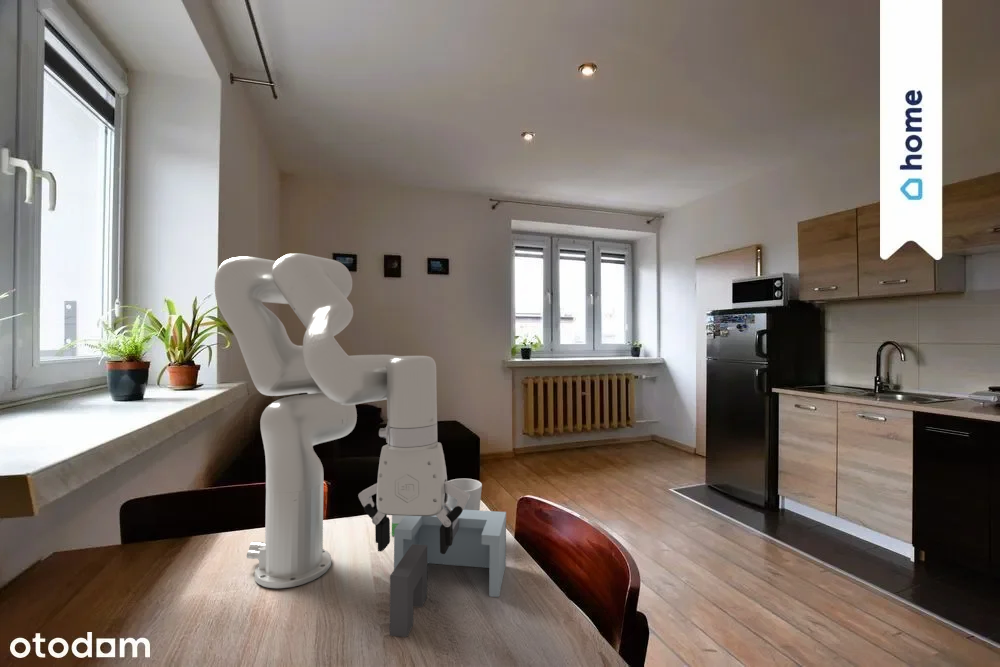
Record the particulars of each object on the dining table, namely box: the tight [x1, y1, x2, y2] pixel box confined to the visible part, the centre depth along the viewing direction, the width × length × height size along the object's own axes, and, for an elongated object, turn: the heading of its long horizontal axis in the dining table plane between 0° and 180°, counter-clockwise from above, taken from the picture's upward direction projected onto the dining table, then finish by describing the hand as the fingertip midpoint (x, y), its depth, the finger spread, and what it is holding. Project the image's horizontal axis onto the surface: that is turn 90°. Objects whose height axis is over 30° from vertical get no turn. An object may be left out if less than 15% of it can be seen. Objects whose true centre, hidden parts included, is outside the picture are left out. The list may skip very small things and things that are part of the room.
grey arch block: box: [388, 544, 428, 638], centre depth 67 cm, size 10×3×8 cm, turn 173°
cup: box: [446, 478, 483, 511], centre depth 91 cm, size 8×8×12 cm
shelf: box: [393, 509, 507, 598], centre depth 78 cm, size 18×10×10 cm, turn 83°
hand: (414, 548), depth 66 cm, fingers open, 9 cm apart
